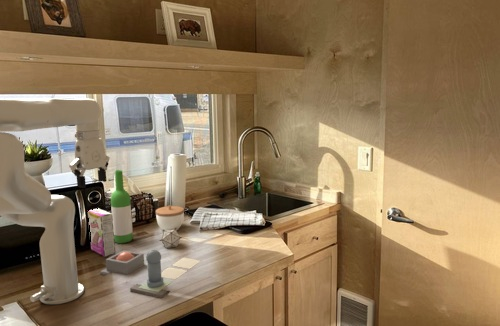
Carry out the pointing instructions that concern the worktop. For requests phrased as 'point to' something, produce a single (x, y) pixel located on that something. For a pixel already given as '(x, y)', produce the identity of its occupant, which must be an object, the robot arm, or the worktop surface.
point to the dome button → (124, 256)
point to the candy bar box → (101, 232)
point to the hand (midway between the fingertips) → (92, 184)
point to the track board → (167, 273)
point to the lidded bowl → (170, 217)
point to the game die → (170, 238)
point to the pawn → (154, 269)
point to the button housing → (123, 263)
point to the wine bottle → (121, 211)
